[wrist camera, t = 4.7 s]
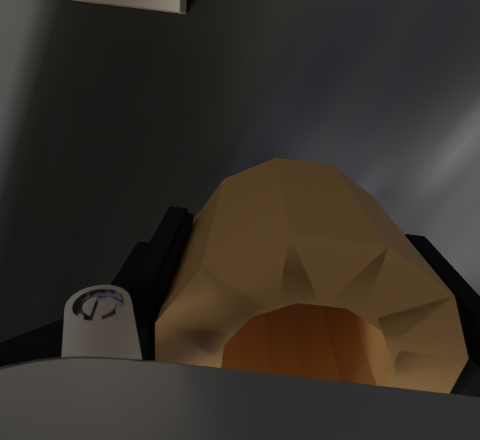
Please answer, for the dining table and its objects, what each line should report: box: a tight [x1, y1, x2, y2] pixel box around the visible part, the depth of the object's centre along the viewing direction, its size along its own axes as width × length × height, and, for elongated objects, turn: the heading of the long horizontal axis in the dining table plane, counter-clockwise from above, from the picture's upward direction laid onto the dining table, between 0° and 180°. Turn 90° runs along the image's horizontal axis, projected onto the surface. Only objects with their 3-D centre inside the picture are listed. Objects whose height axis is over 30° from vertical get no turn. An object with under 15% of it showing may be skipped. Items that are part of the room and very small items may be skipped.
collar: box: [155, 158, 469, 394], centre depth 10 cm, size 6×6×5 cm
